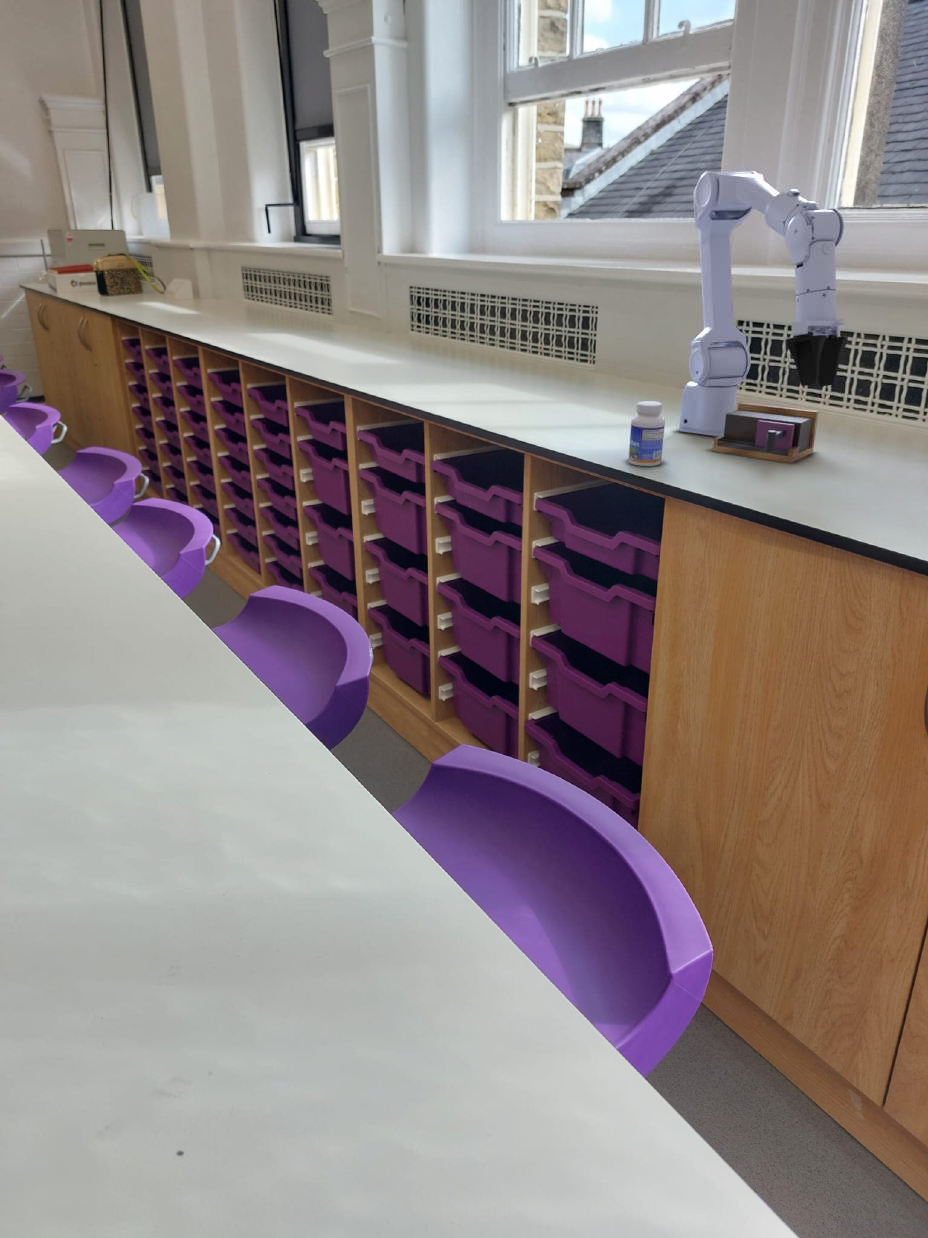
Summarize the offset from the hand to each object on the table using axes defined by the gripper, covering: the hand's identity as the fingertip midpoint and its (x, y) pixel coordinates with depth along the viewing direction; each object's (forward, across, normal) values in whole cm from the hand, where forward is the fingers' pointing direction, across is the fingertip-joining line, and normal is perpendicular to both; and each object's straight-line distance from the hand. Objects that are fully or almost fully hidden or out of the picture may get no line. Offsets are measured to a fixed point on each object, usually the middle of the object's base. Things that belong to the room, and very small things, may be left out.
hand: (818, 385), depth 136 cm
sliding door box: (+9, +7, +12) cm, 17 cm away
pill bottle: (+10, -12, +24) cm, 29 cm away
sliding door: (+10, +1, +9) cm, 13 cm away
